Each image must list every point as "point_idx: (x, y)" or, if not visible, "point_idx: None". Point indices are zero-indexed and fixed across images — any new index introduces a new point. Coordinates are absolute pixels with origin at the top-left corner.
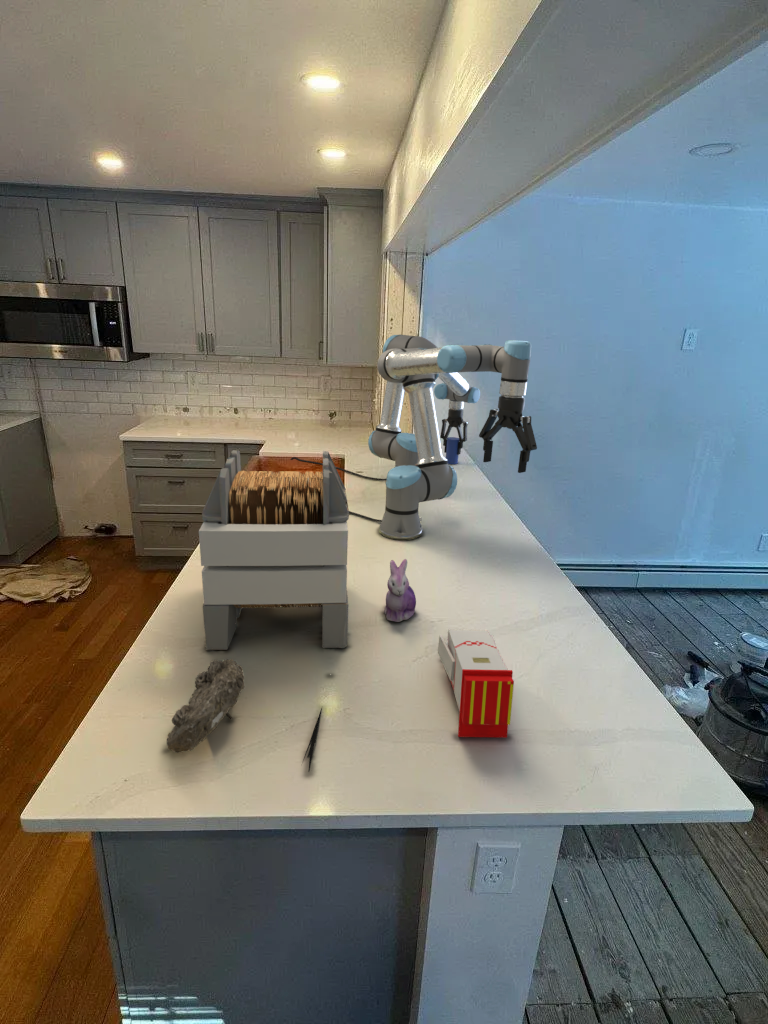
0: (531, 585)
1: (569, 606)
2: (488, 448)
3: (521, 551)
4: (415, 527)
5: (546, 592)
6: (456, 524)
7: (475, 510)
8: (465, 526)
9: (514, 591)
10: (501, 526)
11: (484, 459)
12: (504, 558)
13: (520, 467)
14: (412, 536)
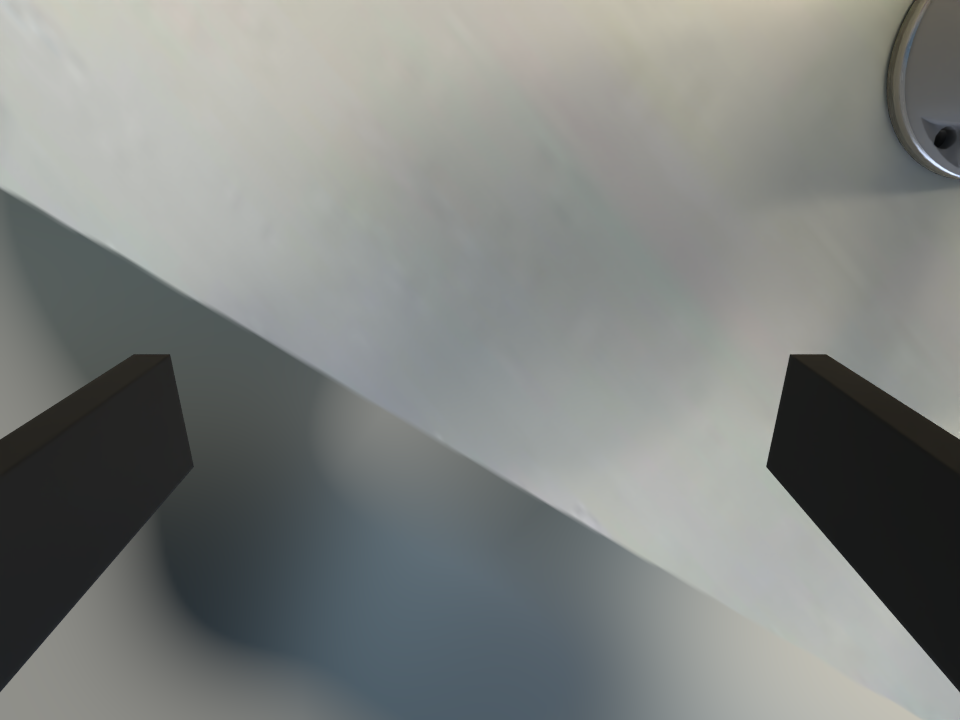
0: (213, 159)
1: (5, 137)
2: (928, 522)
3: (472, 389)
4: (942, 63)
5: (137, 160)
6: None
7: None
8: None
9: (199, 40)
10: (691, 516)
11: (830, 371)
12: (463, 275)
13: (81, 388)
14: (906, 37)
